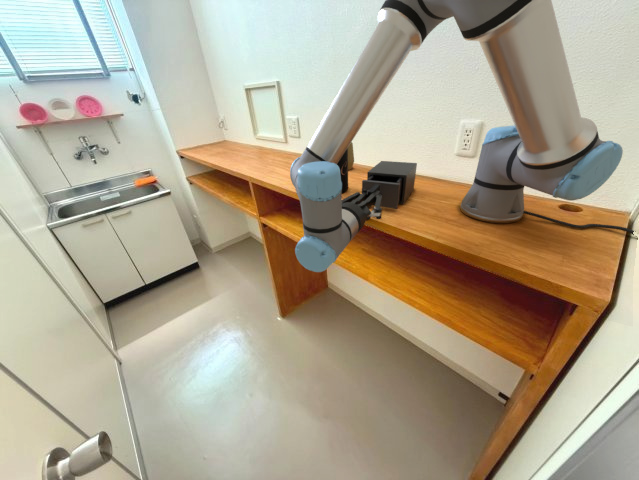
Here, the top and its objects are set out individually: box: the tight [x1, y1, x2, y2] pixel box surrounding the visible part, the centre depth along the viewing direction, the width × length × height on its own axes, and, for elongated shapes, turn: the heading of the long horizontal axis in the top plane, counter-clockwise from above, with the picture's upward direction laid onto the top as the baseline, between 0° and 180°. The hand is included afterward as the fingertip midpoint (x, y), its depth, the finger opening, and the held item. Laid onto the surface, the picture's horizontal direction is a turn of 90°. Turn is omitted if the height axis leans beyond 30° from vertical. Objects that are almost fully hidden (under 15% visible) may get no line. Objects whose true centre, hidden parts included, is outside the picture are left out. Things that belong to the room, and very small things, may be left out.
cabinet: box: [366, 160, 418, 205], centre depth 87 cm, size 15×13×10 cm
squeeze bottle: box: [348, 141, 355, 171], centre depth 116 cm, size 8×8×18 cm
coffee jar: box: [337, 148, 349, 194], centre depth 92 cm, size 11×11×18 cm
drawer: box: [361, 175, 404, 210], centre depth 82 cm, size 15×11×8 cm
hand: (377, 188), depth 75 cm, fingers closed
